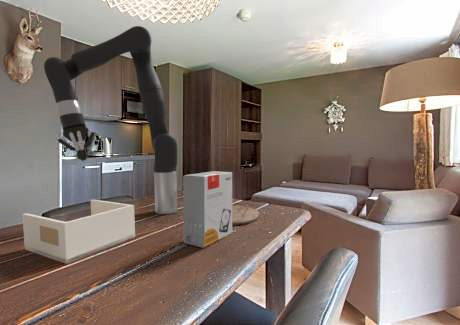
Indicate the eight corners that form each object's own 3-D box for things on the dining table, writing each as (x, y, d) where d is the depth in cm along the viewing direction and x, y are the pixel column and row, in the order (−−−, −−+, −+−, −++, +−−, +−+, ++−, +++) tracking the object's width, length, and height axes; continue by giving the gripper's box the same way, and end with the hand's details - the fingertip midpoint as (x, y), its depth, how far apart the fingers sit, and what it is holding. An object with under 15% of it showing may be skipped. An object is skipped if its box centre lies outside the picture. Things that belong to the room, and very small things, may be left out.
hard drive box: (203, 249, 72) (202, 176, 70) (182, 243, 76) (181, 175, 74) (233, 232, 85) (232, 171, 83) (214, 228, 89) (213, 170, 87)
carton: (135, 236, 82) (134, 205, 81) (65, 264, 63) (63, 223, 63) (94, 227, 91) (93, 199, 91) (23, 249, 73) (21, 214, 72)
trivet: (258, 209, 115) (258, 205, 115) (259, 228, 90) (259, 222, 90) (202, 209, 117) (202, 205, 117) (188, 226, 92) (188, 221, 92)
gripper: (46, 116, 91) (61, 164, 92) (87, 109, 94) (100, 155, 96) (54, 120, 98) (67, 164, 99) (92, 113, 102) (104, 156, 103)
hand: (84, 160), depth 97 cm, fingers closed
